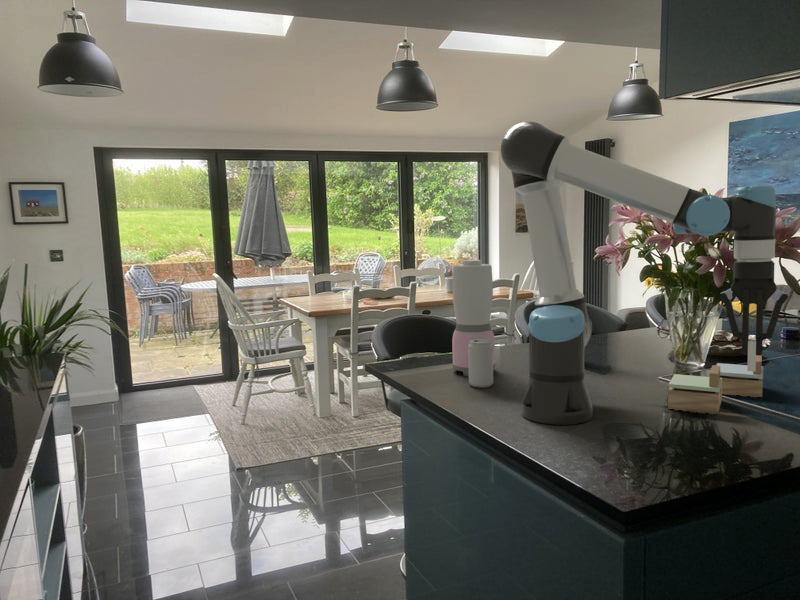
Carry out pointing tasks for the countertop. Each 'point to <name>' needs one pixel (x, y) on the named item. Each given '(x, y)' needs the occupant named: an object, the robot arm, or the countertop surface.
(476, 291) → the blender
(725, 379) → the box far
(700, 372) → the countertop surface
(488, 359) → the beverage can
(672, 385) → the lid near
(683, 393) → the box near
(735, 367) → the lid far
